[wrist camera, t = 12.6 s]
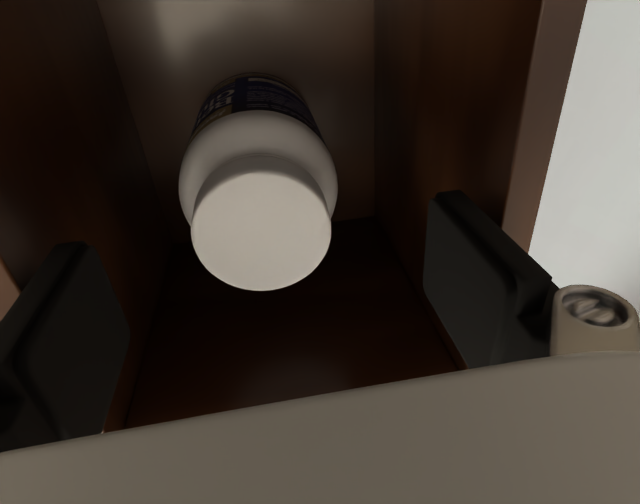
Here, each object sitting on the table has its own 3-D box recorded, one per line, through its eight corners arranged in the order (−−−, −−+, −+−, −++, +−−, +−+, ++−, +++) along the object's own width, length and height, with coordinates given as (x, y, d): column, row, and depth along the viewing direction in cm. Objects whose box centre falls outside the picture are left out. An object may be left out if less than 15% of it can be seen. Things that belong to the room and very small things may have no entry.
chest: (386, 219, 25) (493, 404, 14) (163, 251, 24) (96, 475, 13) (390, -181, 16) (712, -528, 5) (26, -159, 15) (-586, -537, 4)
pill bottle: (217, 49, 18) (194, 108, 10) (330, 99, 20) (391, 184, 12) (183, 163, 20) (142, 286, 12) (287, 198, 22) (312, 326, 14)
